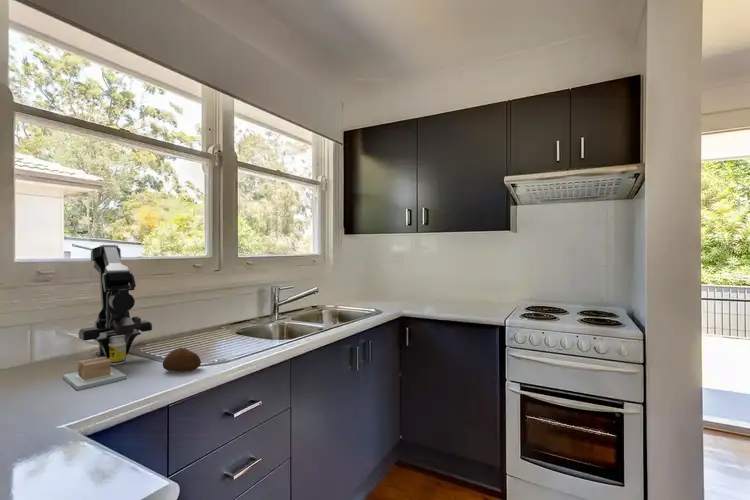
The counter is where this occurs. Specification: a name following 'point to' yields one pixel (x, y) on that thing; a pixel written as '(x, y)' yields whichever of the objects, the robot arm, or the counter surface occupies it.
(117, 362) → the supplement bottle
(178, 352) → the potato
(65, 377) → the build board
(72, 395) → the counter surface
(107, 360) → the walnut block
